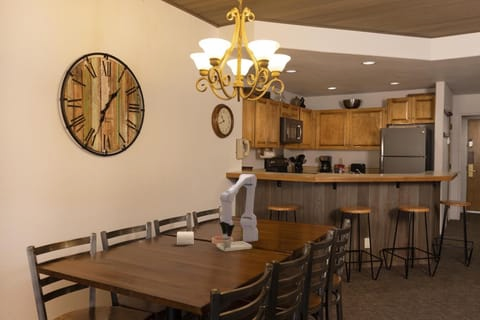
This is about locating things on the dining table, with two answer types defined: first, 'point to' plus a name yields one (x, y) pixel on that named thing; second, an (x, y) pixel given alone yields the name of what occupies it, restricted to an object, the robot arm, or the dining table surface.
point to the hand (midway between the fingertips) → (226, 235)
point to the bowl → (220, 239)
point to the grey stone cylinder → (225, 237)
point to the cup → (185, 238)
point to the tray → (235, 246)
